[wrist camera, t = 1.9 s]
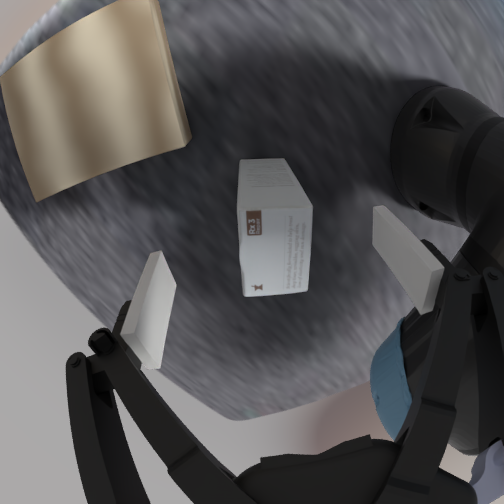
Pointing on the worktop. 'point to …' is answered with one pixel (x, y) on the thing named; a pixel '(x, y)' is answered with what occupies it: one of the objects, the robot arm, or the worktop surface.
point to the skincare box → (273, 228)
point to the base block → (95, 98)
